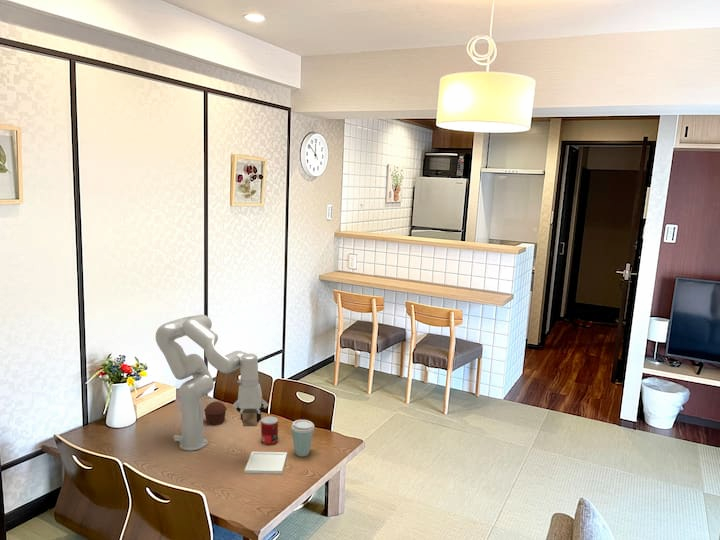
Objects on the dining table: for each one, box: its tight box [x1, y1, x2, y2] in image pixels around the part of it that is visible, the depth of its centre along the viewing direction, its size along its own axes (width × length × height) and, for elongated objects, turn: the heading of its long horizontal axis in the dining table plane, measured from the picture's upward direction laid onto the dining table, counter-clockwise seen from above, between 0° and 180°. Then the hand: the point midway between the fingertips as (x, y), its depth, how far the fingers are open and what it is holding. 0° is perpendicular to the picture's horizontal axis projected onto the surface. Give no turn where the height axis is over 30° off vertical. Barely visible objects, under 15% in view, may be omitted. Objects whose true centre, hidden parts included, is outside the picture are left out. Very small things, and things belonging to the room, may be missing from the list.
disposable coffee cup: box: [290, 419, 315, 457], centre depth 248 cm, size 11×11×15 cm
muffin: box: [203, 401, 228, 426], centre depth 279 cm, size 12×11×10 cm
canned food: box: [260, 415, 279, 446], centre depth 259 cm, size 8×8×11 cm
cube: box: [242, 409, 259, 427], centre depth 239 cm, size 6×6×6 cm
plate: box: [244, 451, 288, 475], centre depth 239 cm, size 16×16×1 cm
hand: (251, 420), depth 240 cm, fingers closed on cube, 6 cm apart
